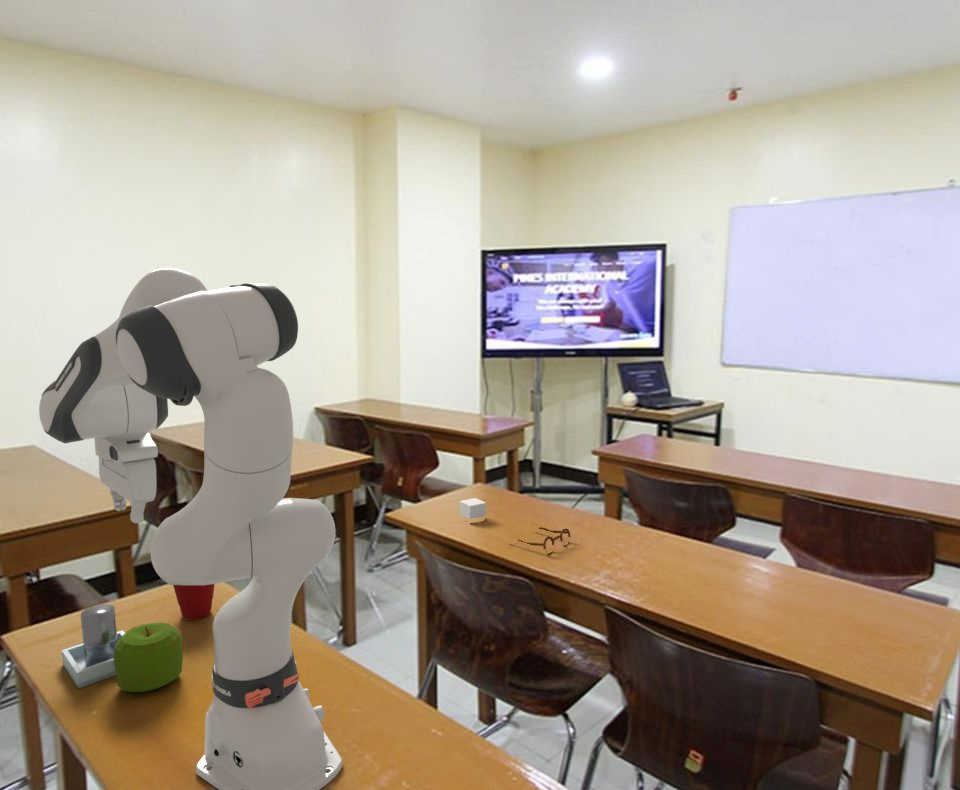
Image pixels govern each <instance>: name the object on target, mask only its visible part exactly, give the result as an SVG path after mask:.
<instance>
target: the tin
mask: <svg viewBox="0 0 960 790" xmlns="http://www.w3.org/2000/svg"><path fill="white" fill-rule="evenodd" d="M115 611H116V609H115V606H114V605H113V604H98V605H93V606H91V607H88V608H86V609H84V610H83V611H81V613H80V622H81V632H82V643H83V645H84V655H85V665H86V667H89V666H92V665H95V664H98V663H101V662H104V661H106V660H109V659H112V658H114V650H115V645H116V642H117V632H118V630H117V621H116V612H115Z"/></svg>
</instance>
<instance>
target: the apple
mask: <svg viewBox="0 0 960 790" xmlns="http://www.w3.org/2000/svg"><path fill="white" fill-rule="evenodd" d="M183 653H184V652H183V637H182V634H181V632H180V631H179V629H178V628H176V627H175V626H174V625H172V624H170V623H167V622H151V623H145V624H140V625H137V626H133V627H132V628H131V629H128V630H127V631H126V632H125V634H124V635H123V636H122V637H121V638H120V639H119V640H118V641H117V642H116V645H115V650H114V664H115V670H116V675H115V676H116V681H117V687H119V689H121V691H122V692H123V691H124V692H131V693H146V692H150V691H155V690H157V689H159V688H162V687H164V686H166V685H168V684H169V683H171V682H172V681H174V680H176V679H178V677H179V676H180V674H182V673H181V672H182V670H183V669H182V668H183Z"/></svg>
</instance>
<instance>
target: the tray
mask: <svg viewBox="0 0 960 790" xmlns="http://www.w3.org/2000/svg"><path fill="white" fill-rule="evenodd" d="M125 633H126V632H125V631H124V630H123V629H122V630H120V631H117V641H118V640H119V639H120V638H121V637H122V636H123V635H124V634H125ZM61 658H62V666H63V667H64V669H65V670H66V671H67V673H68V675H69V677H70V678H71V679H72V681H73V682H74V684H75V686H77V688H78V689H81V688H84V687H86V686H90V685H92V684H94V683H98V682H100V681H103V680H106V679H108V678H112V677H114V676H116V670H115V664H114V658H112V659H109V660H106V661H104V662H101V663H98V664H95V665H92V666H89V667H86V665H85V655H84V645H83V642H82V643H80V644H76V645H73V646H70V647H67V648H65V649H62V650H61Z"/></svg>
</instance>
